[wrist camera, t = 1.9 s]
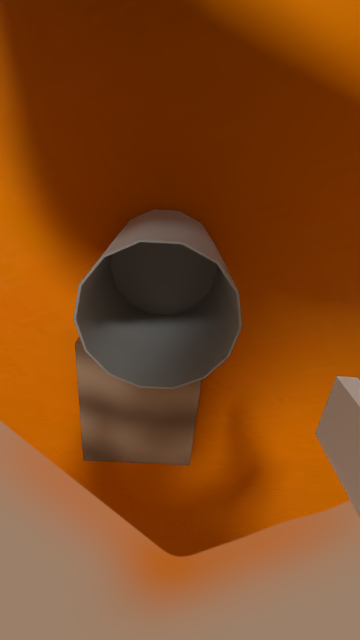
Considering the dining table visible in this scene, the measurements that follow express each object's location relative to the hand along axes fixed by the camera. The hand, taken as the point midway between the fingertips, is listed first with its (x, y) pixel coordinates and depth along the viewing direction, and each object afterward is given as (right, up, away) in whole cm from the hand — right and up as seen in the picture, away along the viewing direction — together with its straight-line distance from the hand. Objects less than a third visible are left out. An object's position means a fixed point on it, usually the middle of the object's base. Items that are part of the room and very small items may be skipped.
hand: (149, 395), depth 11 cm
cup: (0, +7, +14) cm, 15 cm away
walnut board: (-3, -5, +20) cm, 21 cm away
